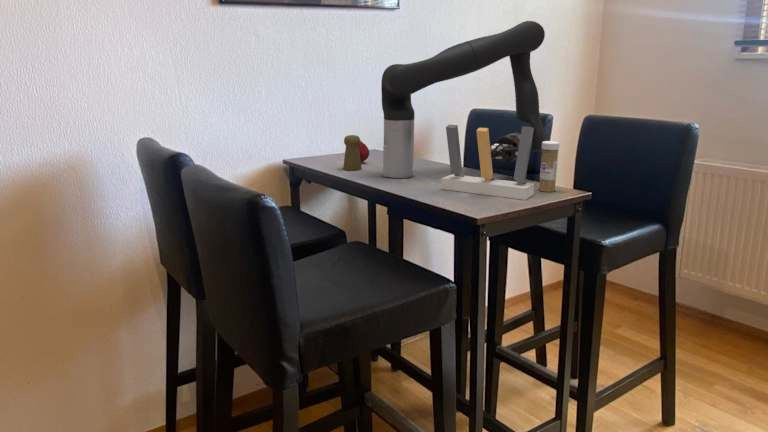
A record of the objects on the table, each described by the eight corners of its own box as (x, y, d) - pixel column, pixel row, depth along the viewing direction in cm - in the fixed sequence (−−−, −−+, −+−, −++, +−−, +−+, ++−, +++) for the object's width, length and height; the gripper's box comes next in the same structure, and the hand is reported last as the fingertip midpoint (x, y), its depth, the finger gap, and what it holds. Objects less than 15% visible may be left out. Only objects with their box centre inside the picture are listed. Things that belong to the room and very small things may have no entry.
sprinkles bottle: (535, 190, 164) (539, 141, 161) (543, 187, 167) (546, 140, 164) (551, 193, 161) (555, 143, 158) (558, 190, 165) (562, 141, 161)
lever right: (512, 182, 157) (522, 126, 157) (515, 183, 158) (524, 127, 158) (522, 183, 155) (531, 126, 155) (524, 184, 157) (533, 128, 157)
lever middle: (481, 180, 162) (476, 130, 154) (484, 177, 163) (479, 127, 155) (490, 181, 160) (485, 131, 152) (493, 178, 162) (488, 128, 154)
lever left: (451, 177, 166) (445, 127, 159) (454, 173, 168) (448, 124, 160) (459, 178, 165) (454, 128, 157) (462, 174, 166) (457, 125, 159)
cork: (359, 171, 190) (359, 136, 187) (340, 170, 191) (340, 136, 189) (363, 167, 196) (363, 134, 193) (345, 167, 197) (345, 133, 194)
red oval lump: (372, 162, 205) (372, 139, 203) (363, 165, 200) (362, 141, 198) (358, 161, 208) (358, 138, 206) (348, 163, 203) (348, 140, 201)
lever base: (440, 189, 166) (441, 177, 165) (451, 184, 171) (452, 173, 170) (524, 199, 153) (525, 187, 153) (533, 194, 159) (534, 182, 158)
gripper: (489, 132, 176) (465, 139, 162) (533, 136, 170) (512, 143, 155) (488, 158, 178) (464, 166, 164) (531, 162, 172) (510, 171, 157)
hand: (488, 155), depth 160 cm, fingers closed
